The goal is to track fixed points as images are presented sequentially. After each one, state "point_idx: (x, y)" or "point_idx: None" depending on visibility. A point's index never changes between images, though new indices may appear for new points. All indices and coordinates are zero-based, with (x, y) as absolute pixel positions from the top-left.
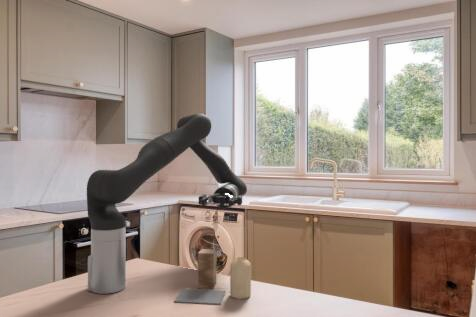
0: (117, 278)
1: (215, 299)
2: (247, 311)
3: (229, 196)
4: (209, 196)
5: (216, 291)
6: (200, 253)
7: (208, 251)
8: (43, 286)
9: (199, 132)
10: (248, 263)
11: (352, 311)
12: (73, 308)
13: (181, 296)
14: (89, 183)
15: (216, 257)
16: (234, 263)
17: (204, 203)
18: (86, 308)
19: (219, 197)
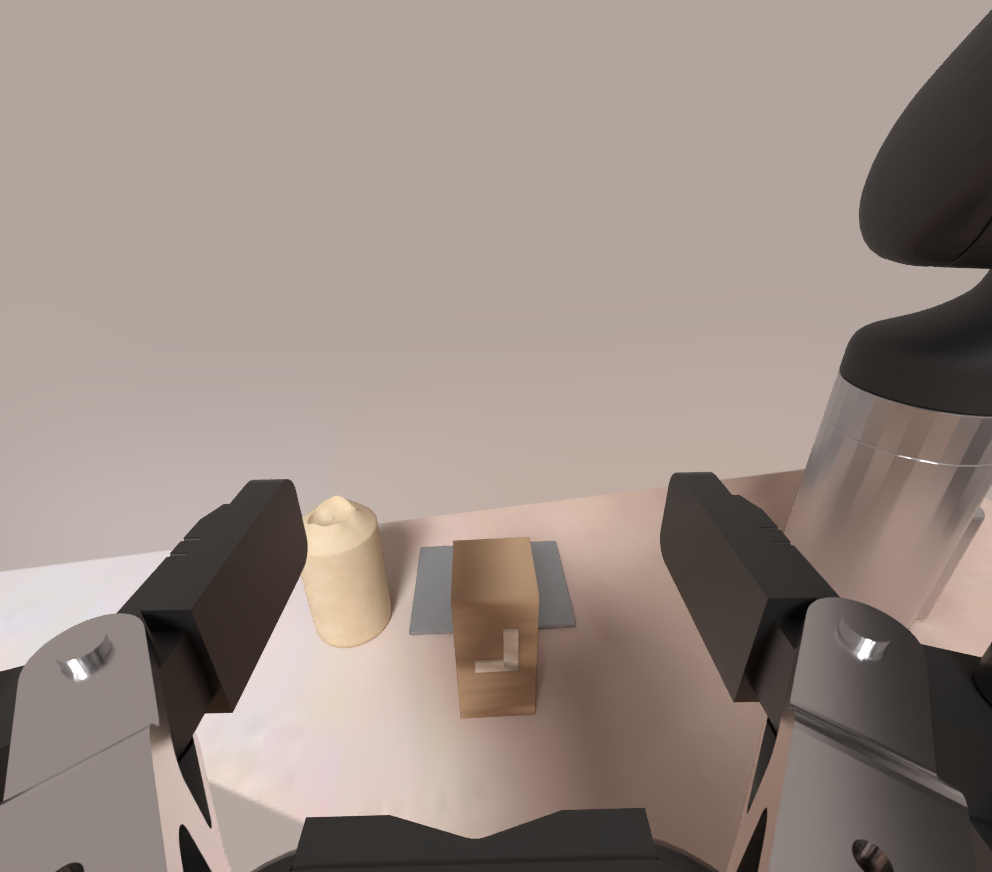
0: (784, 533)
1: (437, 566)
2: None
3: (147, 728)
4: (839, 736)
5: (443, 620)
6: (517, 539)
7: (487, 565)
8: None
9: None
10: (304, 516)
11: (37, 571)
12: (765, 488)
13: (549, 567)
14: None
15: (453, 630)
16: (360, 504)
17: (668, 523)
18: (738, 491)
19: (509, 837)
